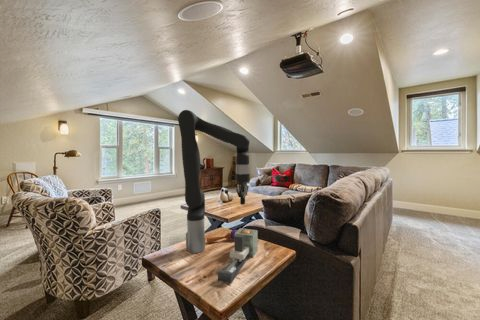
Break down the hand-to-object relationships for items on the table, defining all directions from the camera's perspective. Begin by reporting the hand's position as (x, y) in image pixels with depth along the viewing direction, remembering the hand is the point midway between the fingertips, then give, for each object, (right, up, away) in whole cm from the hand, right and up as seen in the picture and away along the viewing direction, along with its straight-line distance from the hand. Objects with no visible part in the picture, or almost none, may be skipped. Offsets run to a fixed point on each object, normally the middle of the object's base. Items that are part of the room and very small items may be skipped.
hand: (242, 204), depth 118 cm
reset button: (+2, -18, -4) cm, 18 cm away
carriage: (-2, -23, -13) cm, 27 cm away
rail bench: (-2, -25, -15) cm, 29 cm away
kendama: (-11, -25, +11) cm, 29 cm away
